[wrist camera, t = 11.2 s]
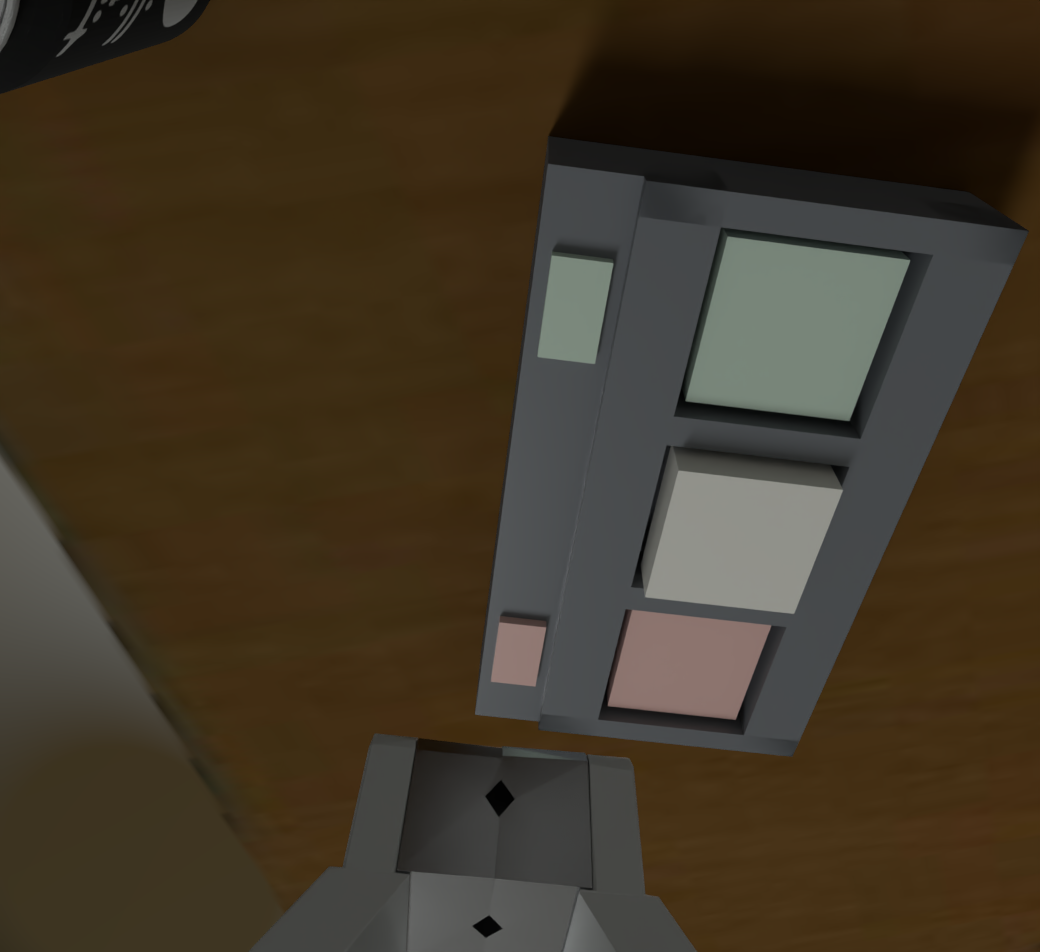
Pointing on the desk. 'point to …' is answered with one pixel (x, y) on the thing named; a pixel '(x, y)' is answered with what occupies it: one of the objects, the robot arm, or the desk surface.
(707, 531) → the ivory key
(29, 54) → the beverage can
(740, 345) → the sage key
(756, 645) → the rose key
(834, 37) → the desk surface
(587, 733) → the keypad
